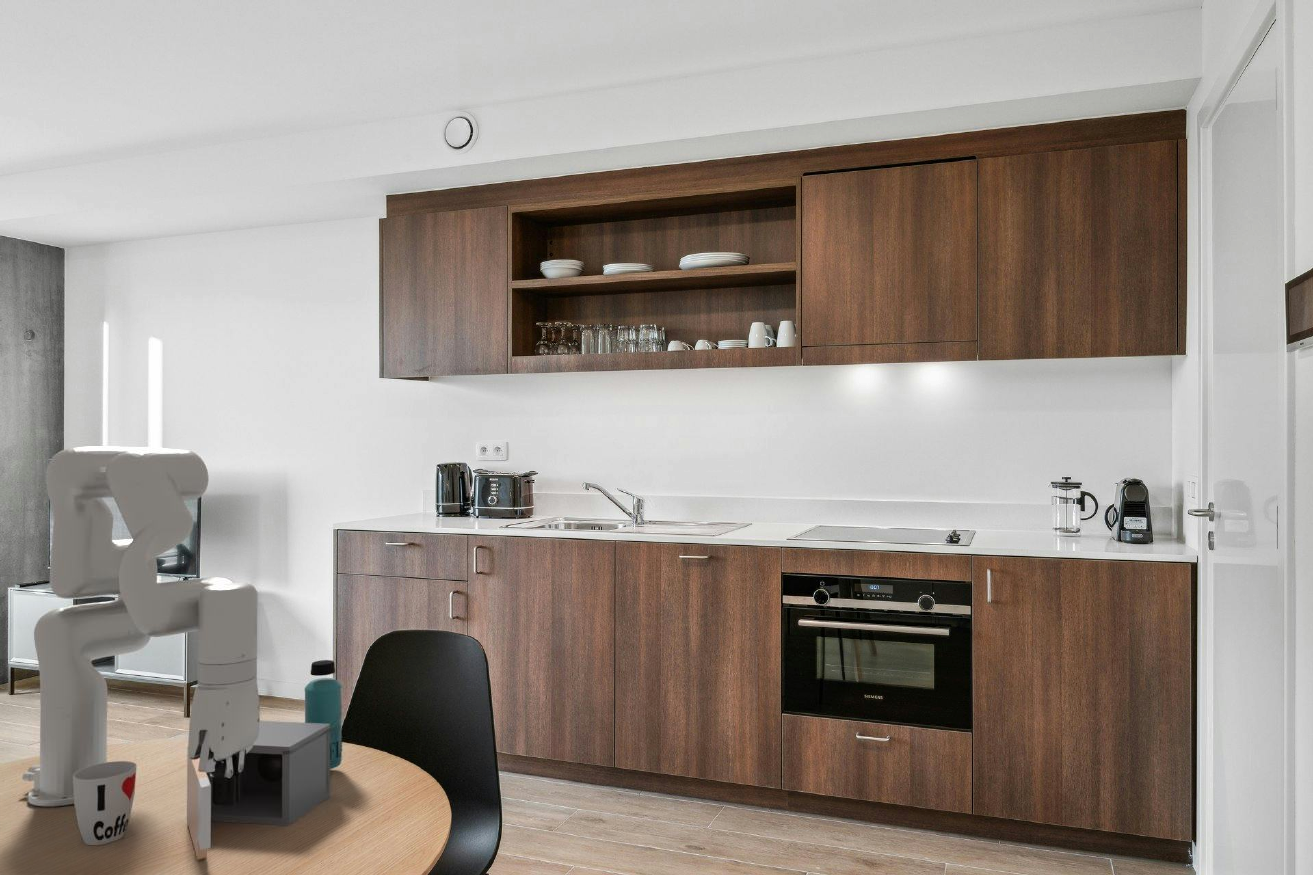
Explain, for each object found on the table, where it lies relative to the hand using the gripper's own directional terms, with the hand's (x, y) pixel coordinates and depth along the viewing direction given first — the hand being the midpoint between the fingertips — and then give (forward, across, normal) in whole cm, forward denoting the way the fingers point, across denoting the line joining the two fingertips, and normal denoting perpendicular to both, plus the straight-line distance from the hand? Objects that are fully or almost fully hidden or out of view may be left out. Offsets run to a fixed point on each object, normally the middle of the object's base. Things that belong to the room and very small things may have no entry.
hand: (226, 802), depth 124 cm
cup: (+8, -4, -23) cm, 25 cm away
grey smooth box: (+8, -18, -6) cm, 21 cm away
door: (+8, -4, -7) cm, 11 cm away
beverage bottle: (+8, -34, -4) cm, 35 cm away
